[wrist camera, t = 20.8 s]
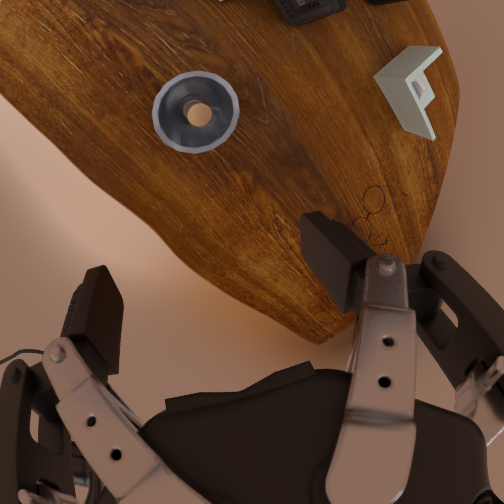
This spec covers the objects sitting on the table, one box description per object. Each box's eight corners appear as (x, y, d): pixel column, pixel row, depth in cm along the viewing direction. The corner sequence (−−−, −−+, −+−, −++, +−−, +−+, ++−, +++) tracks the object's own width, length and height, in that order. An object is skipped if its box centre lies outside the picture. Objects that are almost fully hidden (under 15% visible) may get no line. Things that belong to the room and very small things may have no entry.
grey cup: (165, 144, 33) (161, 161, 25) (154, 85, 28) (145, 82, 20) (227, 131, 34) (244, 144, 26) (218, 72, 29) (233, 64, 21)
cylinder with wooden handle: (180, 123, 31) (181, 140, 20) (175, 97, 29) (173, 98, 18) (207, 117, 32) (225, 131, 21) (203, 91, 30) (218, 90, 19)
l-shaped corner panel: (403, 130, 40) (433, 140, 34) (372, 76, 33) (404, 79, 27) (434, 96, 37) (463, 104, 31) (408, 45, 31) (439, 46, 25)
